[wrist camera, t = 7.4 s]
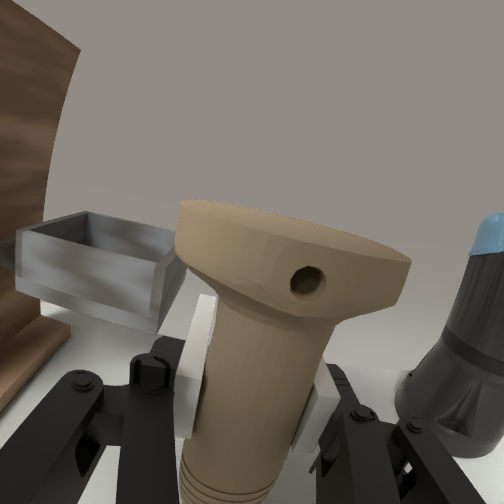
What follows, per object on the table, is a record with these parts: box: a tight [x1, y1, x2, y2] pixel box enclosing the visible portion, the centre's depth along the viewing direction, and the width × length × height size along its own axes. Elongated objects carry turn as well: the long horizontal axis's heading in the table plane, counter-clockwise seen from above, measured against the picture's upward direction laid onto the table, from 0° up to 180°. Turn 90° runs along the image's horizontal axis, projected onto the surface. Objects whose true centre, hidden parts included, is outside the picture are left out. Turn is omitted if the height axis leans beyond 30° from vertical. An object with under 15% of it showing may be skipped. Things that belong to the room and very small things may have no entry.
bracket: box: [0, 0, 187, 413], centre depth 16 cm, size 16×18×28 cm
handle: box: [174, 200, 412, 504], centre depth 10 cm, size 5×6×15 cm
